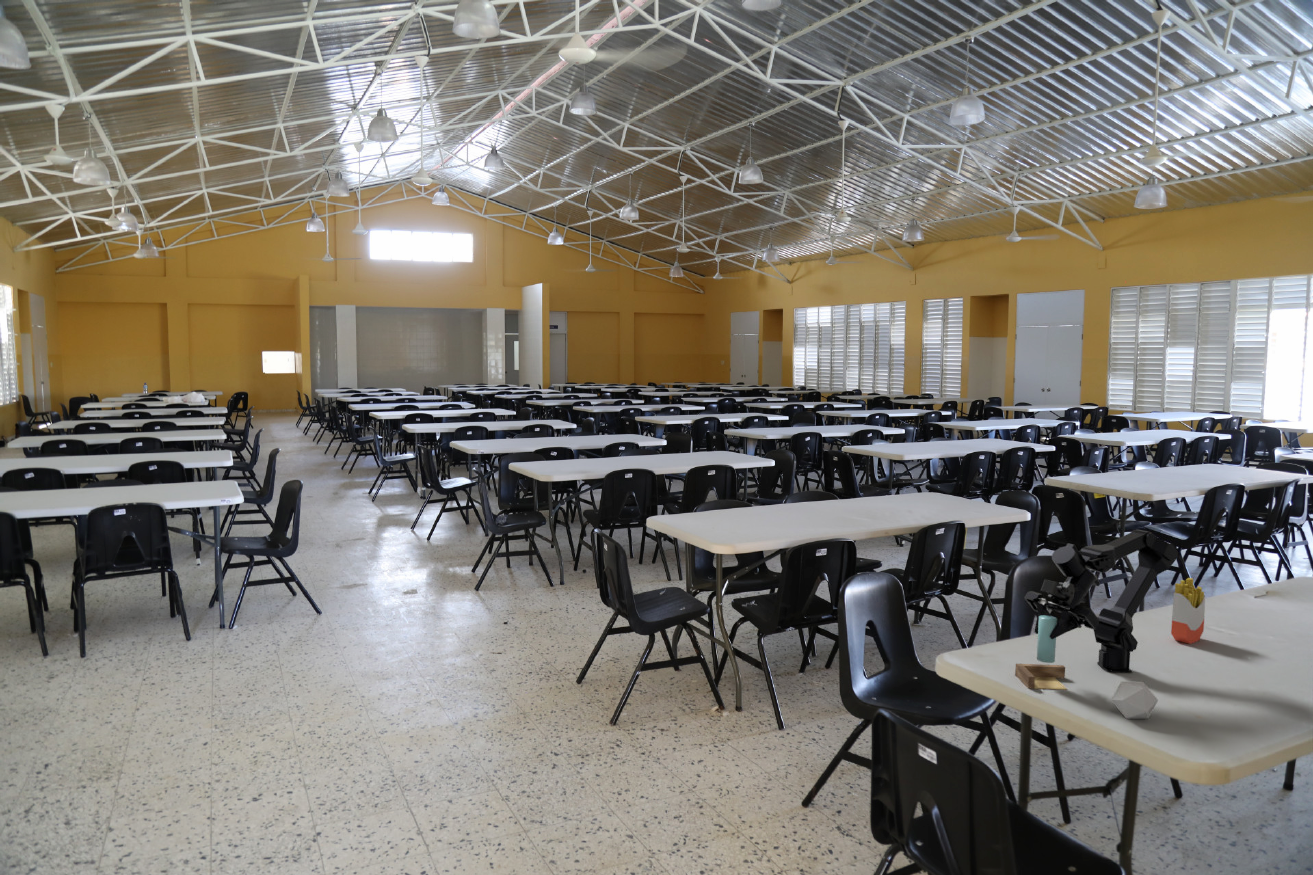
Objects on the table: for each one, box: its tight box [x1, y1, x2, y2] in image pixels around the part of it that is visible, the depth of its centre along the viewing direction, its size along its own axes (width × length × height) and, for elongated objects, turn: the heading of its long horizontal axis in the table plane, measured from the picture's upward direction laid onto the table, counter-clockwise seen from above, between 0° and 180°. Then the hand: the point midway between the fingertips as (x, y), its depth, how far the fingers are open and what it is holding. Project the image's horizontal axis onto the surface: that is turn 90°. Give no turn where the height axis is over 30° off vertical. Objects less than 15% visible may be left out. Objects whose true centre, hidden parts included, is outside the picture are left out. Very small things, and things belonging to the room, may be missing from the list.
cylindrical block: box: [1036, 615, 1058, 664], centre depth 217 cm, size 4×4×11 cm
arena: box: [1014, 663, 1068, 691], centre depth 219 cm, size 12×10×3 cm
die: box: [1110, 681, 1159, 720], centre depth 198 cm, size 8×9×10 cm
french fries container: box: [1170, 577, 1206, 645], centre depth 253 cm, size 5×11×18 cm, turn 124°
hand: (1043, 635), depth 216 cm, fingers closed on cylindrical block, 4 cm apart
